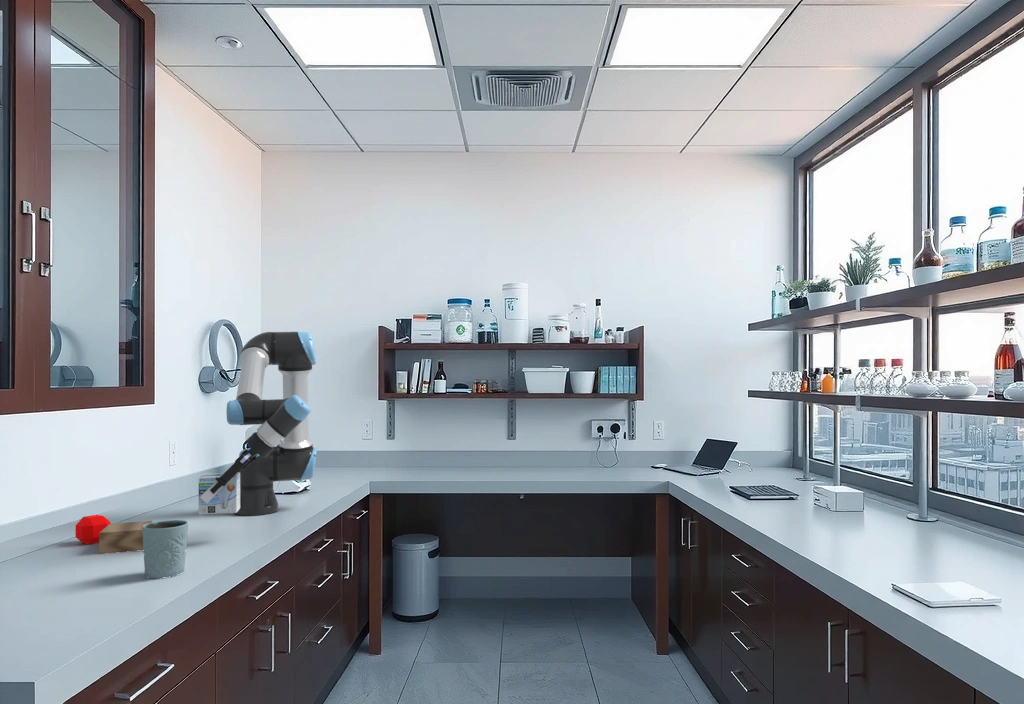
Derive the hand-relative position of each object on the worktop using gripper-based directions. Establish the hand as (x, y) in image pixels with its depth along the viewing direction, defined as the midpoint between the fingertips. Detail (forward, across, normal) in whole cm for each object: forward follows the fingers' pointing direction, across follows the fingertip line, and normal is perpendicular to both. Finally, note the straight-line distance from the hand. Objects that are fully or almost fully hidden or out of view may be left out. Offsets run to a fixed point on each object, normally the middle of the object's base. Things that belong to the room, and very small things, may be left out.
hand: (207, 497), depth 207 cm
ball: (+33, +9, +14) cm, 37 cm away
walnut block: (+25, 0, +6) cm, 25 cm away
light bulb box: (+1, 0, -6) cm, 6 cm away
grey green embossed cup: (+10, -35, -8) cm, 37 cm away
